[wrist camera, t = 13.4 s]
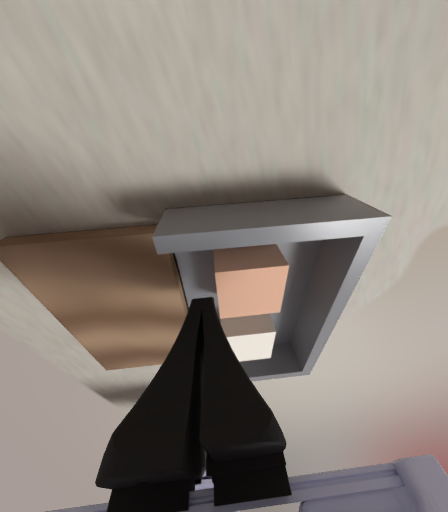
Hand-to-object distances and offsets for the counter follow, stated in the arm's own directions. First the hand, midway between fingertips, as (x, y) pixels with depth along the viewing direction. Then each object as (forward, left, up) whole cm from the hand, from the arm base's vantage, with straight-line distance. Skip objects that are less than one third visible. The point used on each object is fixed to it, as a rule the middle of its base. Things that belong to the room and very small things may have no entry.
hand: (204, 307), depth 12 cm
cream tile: (-7, -3, -3) cm, 8 cm away
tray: (-3, -4, -3) cm, 6 cm away
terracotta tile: (0, -3, -3) cm, 4 cm away
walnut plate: (-3, +7, -3) cm, 8 cm away
